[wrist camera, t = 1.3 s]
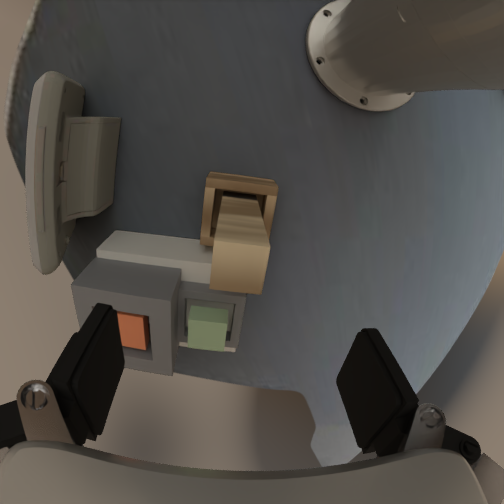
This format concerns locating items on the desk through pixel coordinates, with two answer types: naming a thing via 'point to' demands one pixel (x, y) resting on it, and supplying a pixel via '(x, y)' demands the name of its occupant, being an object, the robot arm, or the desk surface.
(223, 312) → the on button
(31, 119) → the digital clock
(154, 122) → the desk surface
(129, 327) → the plunger
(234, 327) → the push button control box
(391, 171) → the desk surface
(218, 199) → the holder
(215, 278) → the tall wooden block
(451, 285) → the desk surface
